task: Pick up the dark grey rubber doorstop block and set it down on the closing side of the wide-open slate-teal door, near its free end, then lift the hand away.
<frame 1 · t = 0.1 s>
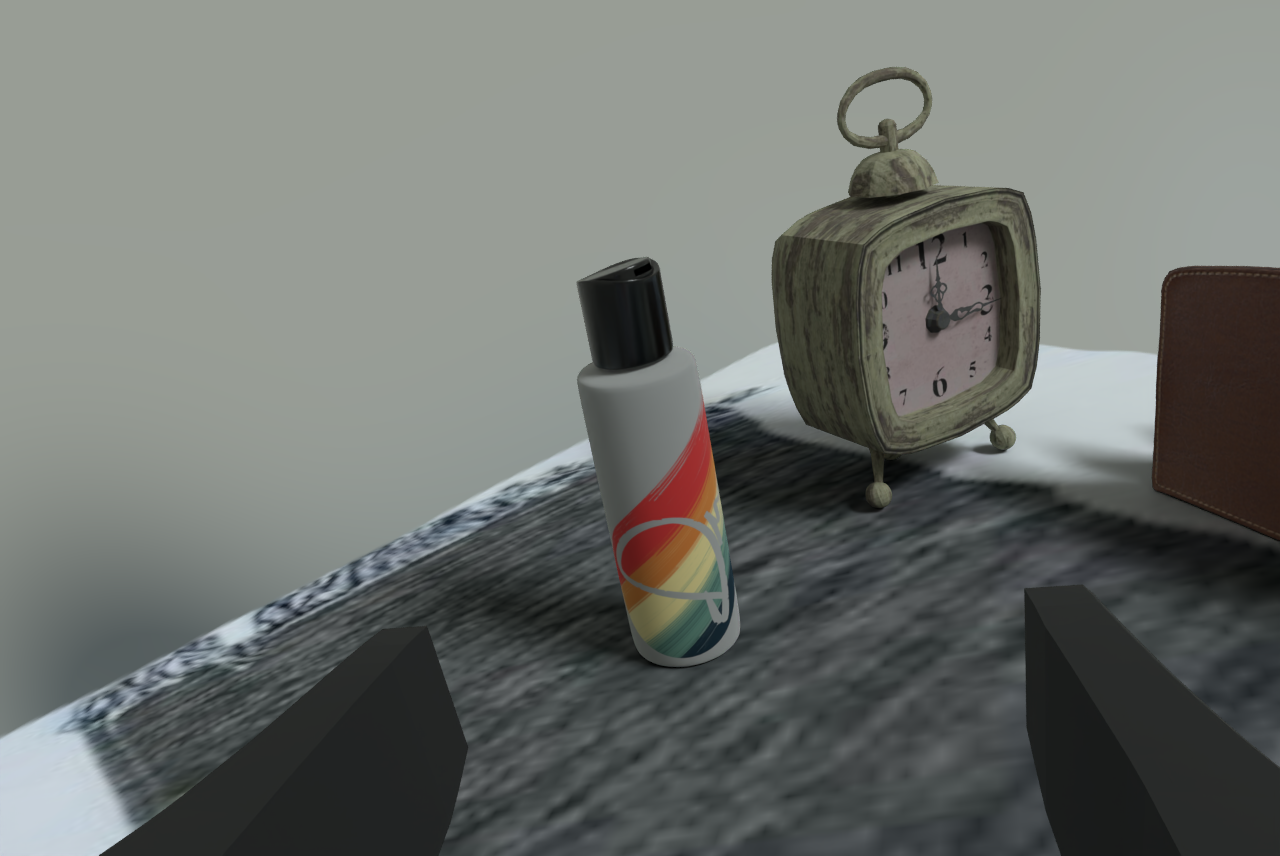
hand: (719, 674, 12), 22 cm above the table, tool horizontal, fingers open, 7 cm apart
tabletop clock: (913, 469, 65), on the table
lotion bottle: (688, 639, 51), on the table
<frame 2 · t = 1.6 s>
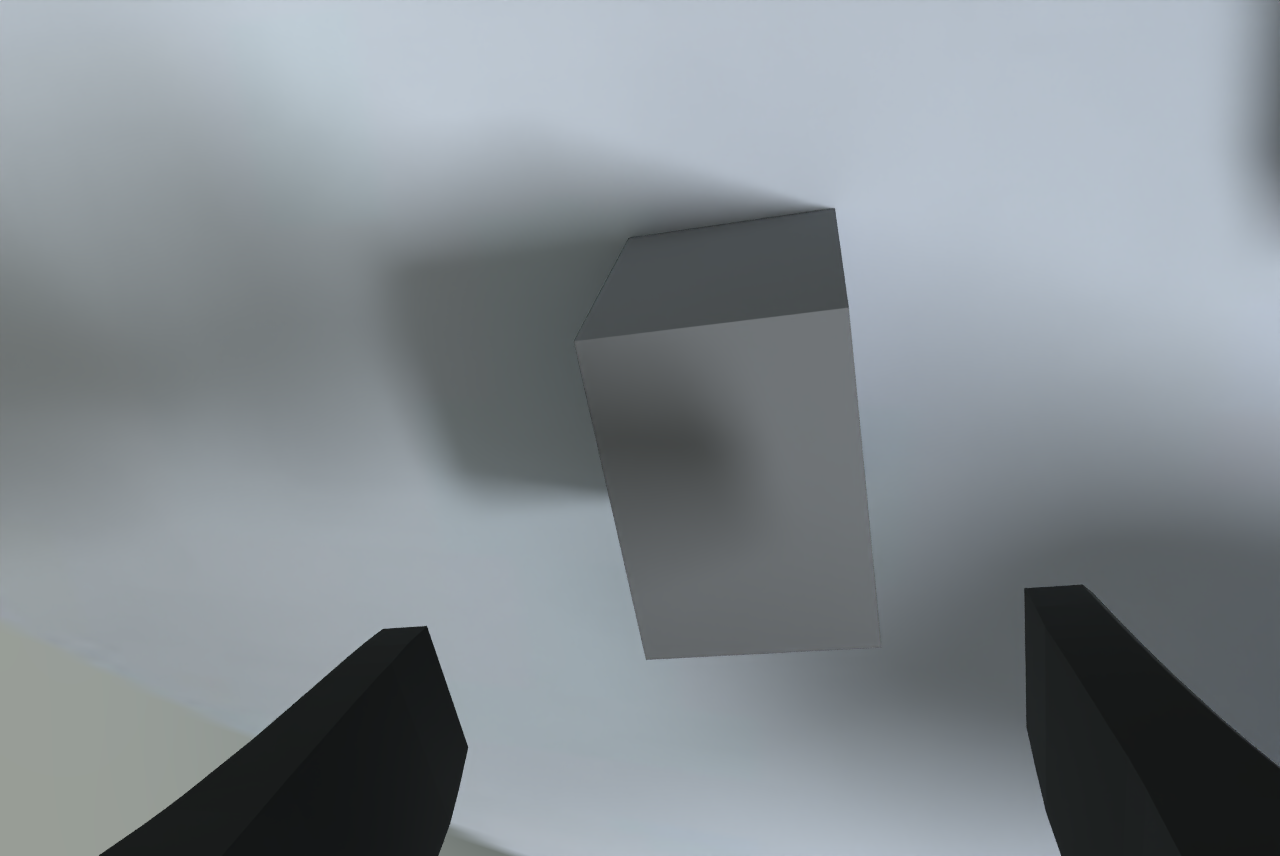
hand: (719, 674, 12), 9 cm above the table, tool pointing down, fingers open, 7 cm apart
doorstop block: (750, 364, 20), on the table
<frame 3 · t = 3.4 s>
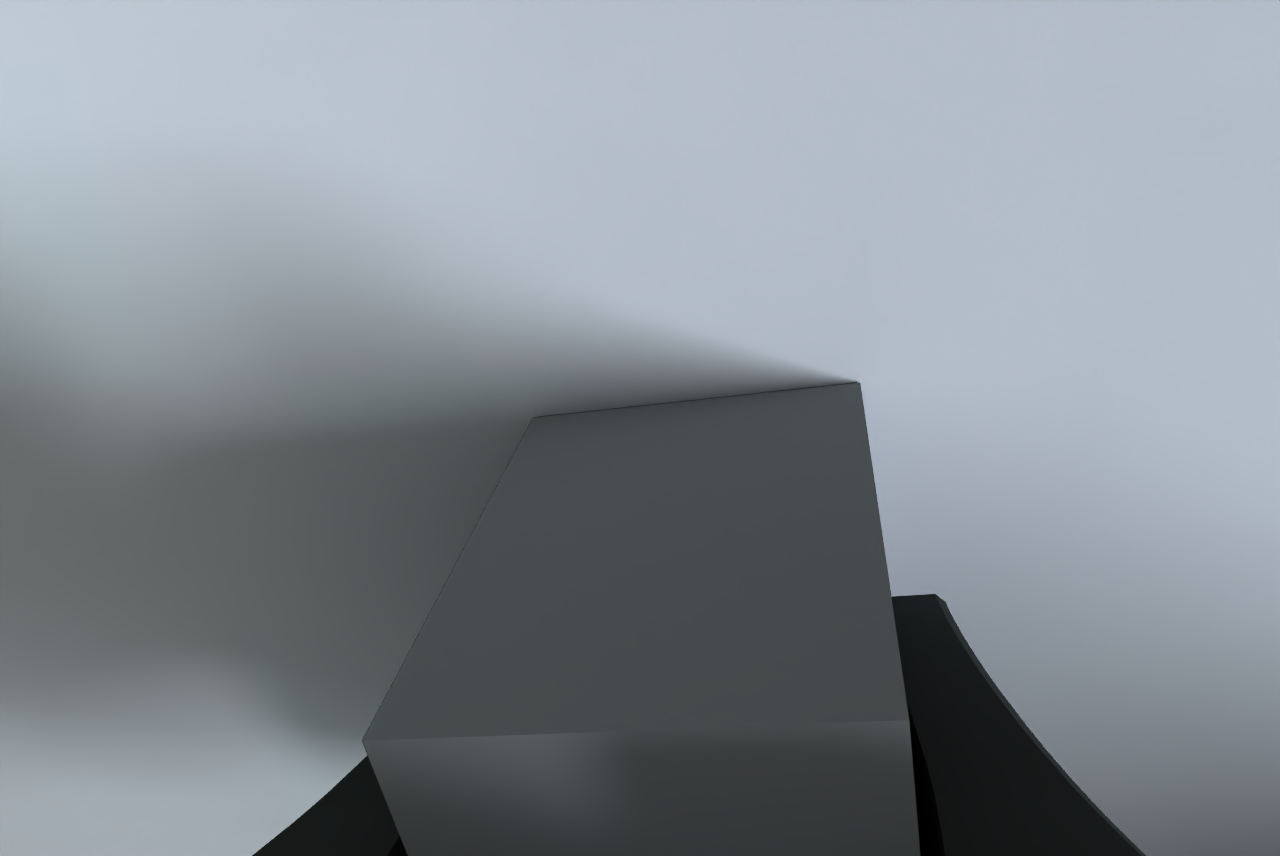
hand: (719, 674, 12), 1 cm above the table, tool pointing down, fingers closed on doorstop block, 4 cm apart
doorstop block: (726, 602, 13), on the table, touching gripper
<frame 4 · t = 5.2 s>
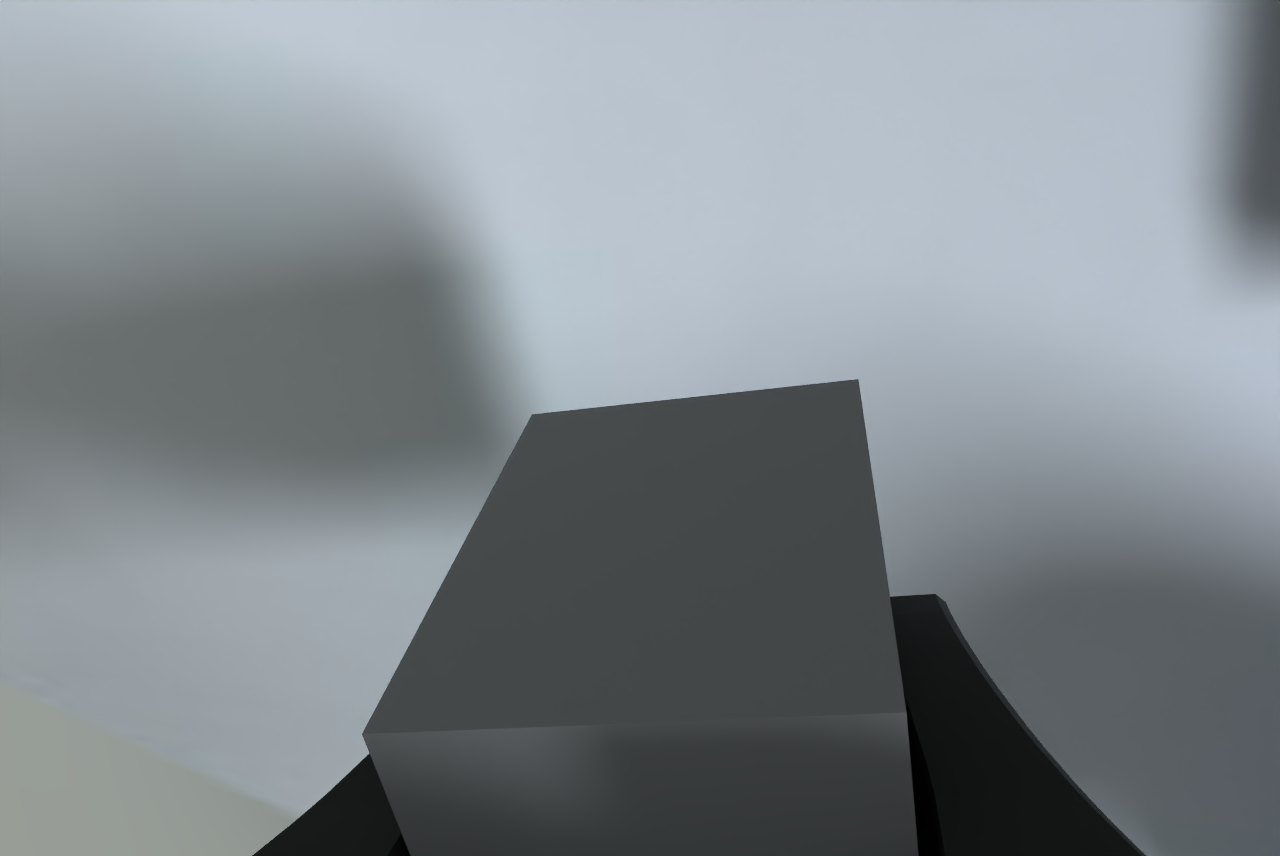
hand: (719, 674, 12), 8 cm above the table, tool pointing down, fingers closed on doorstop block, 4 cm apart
doorstop block: (724, 599, 13), point 7 cm above the table, touching gripper
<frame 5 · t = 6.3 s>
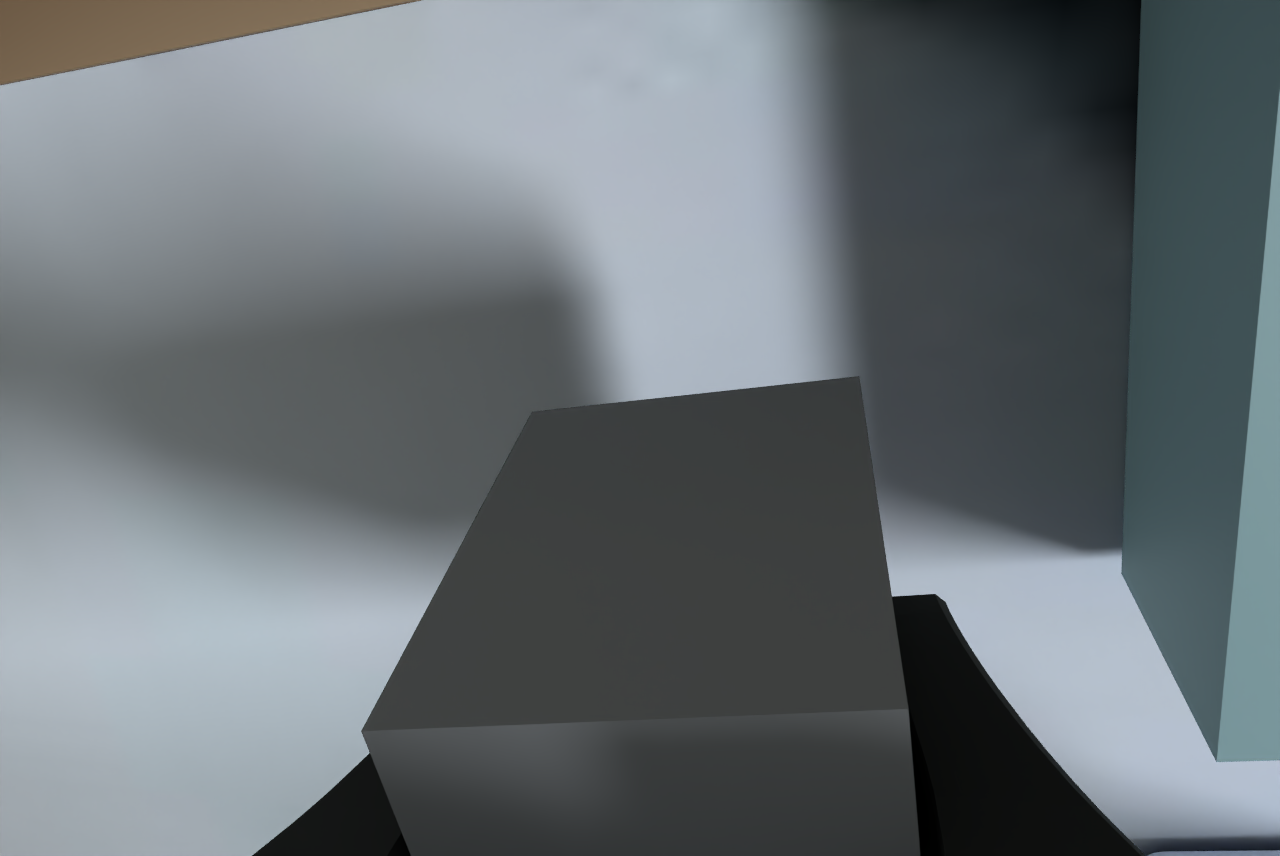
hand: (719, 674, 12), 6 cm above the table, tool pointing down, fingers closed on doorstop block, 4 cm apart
door: (1256, 325, 12), point 3 cm above the table, hinge at 90.0°
doorstop block: (725, 597, 13), point 4 cm above the table, touching gripper
when the fingers open (2 cm above the table, at t = 7.3 s): doorstop block drops 1 cm, on the table.
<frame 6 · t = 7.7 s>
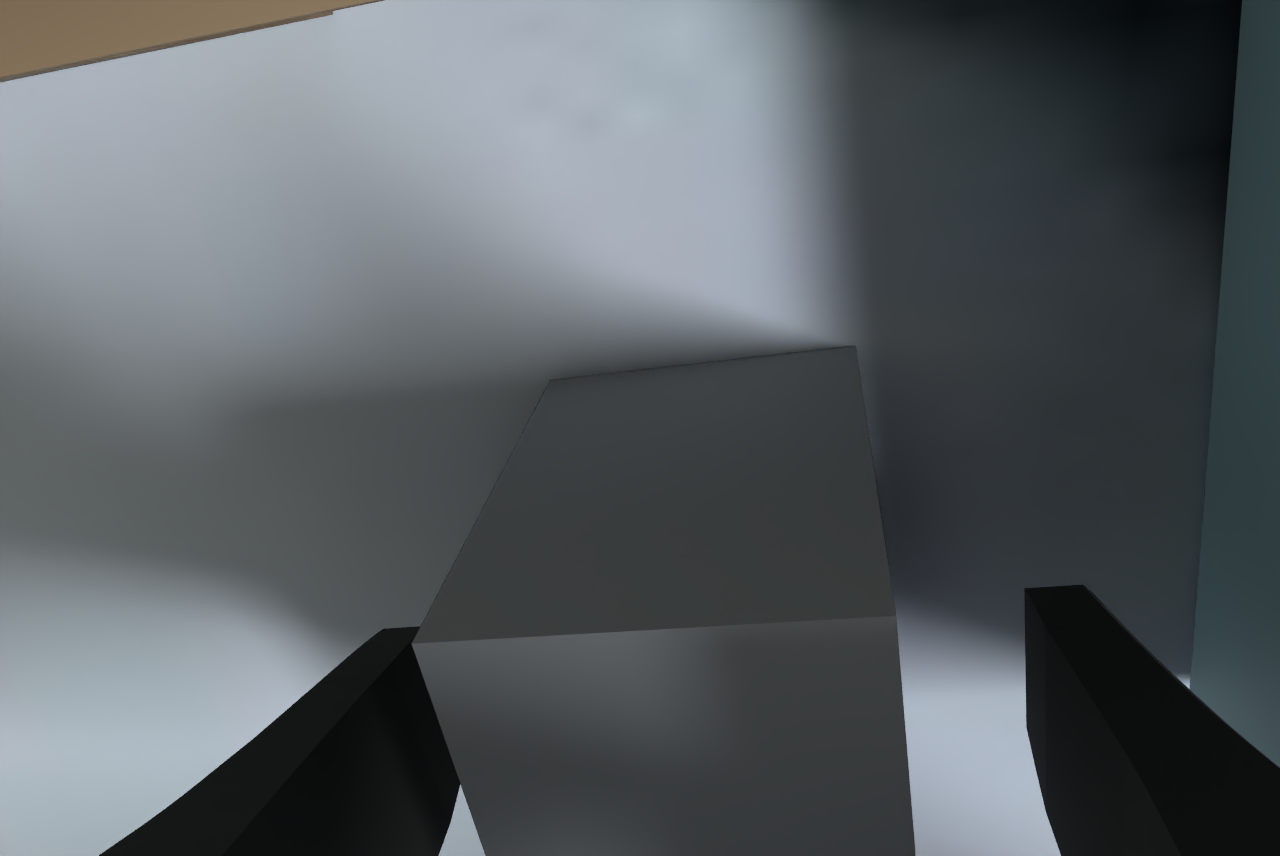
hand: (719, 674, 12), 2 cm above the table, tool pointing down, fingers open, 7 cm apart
doorstop block: (730, 553, 14), on the table
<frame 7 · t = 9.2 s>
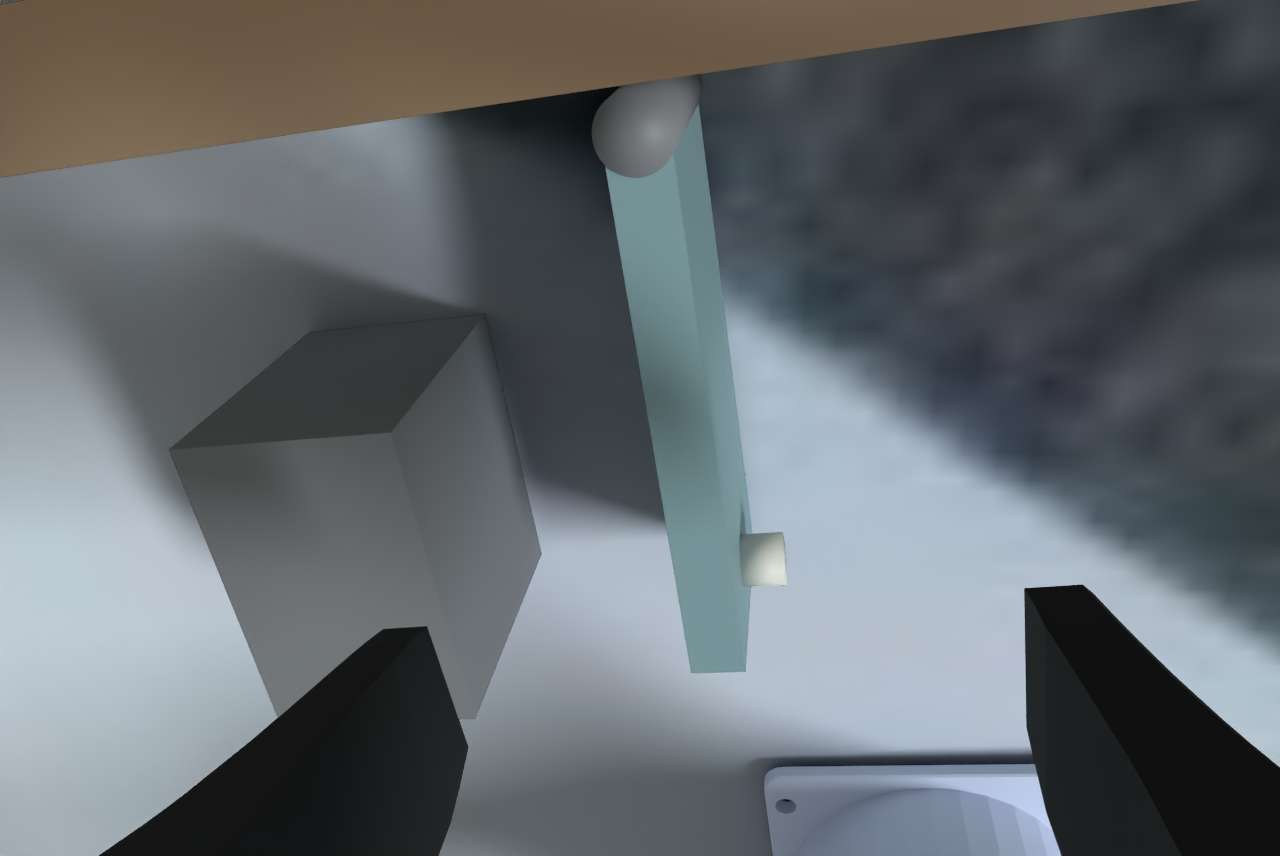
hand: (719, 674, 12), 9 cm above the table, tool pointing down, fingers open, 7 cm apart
wooden plank: (438, 8, 18), on the table
door: (710, 367, 18), point 3 cm above the table, hinge at 90.0°
doorstop block: (431, 446, 22), on the table
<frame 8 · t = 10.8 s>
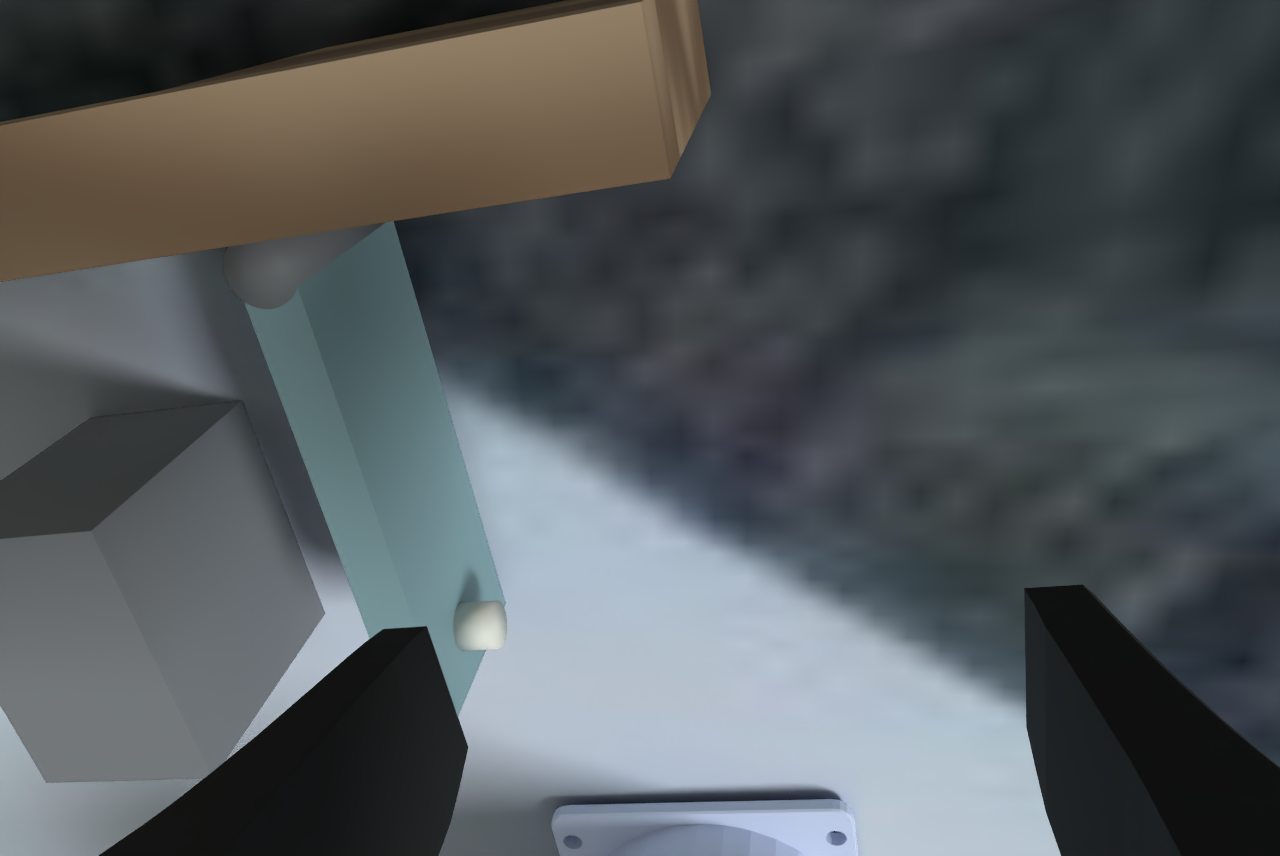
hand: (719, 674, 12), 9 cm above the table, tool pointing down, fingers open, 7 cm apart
wooden plank: (160, 135, 20), on the table
door: (408, 456, 19), point 3 cm above the table, hinge at 90.0°
doorstop block: (213, 517, 24), on the table
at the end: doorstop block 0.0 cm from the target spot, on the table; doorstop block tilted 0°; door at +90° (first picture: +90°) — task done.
